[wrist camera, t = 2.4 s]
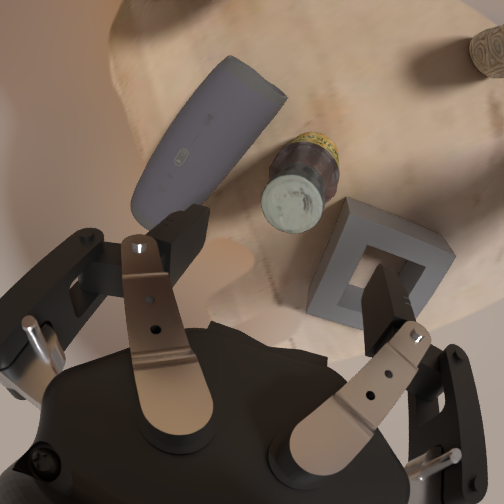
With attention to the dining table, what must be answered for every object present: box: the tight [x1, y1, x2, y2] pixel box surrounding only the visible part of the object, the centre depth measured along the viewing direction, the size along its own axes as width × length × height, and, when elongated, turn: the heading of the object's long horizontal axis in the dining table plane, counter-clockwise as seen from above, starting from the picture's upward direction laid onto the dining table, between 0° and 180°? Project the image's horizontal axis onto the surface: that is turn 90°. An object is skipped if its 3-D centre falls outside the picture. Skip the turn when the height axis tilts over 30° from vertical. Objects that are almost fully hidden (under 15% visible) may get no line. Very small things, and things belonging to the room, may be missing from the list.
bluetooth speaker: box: [131, 55, 288, 231], centre depth 32 cm, size 23×9×10 cm, turn 140°
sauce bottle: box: [261, 132, 340, 234], centre depth 25 cm, size 7×6×20 cm
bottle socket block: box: [306, 197, 456, 330], centre depth 36 cm, size 16×16×7 cm
